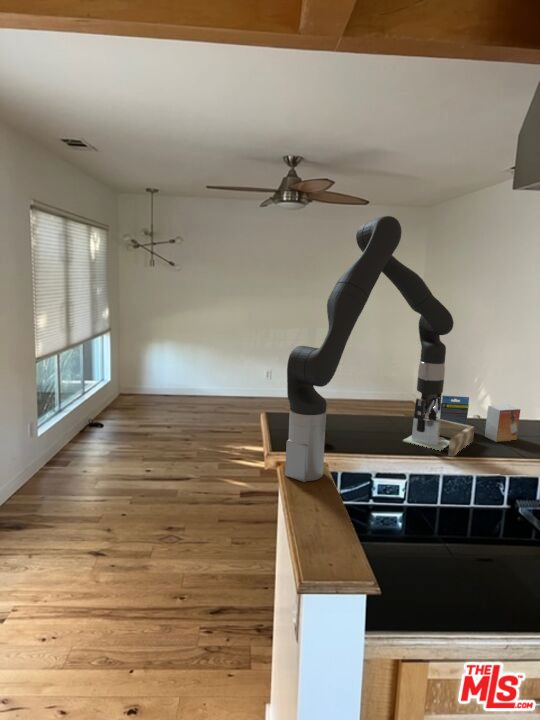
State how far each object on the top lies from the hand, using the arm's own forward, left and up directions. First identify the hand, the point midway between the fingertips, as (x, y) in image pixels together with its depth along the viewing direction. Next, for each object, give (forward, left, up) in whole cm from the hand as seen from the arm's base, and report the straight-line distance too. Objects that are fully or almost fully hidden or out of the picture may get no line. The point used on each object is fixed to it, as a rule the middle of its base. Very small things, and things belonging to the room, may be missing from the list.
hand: (426, 428), depth 155 cm
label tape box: (+19, -1, -5) cm, 20 cm away
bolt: (-19, +29, -6) cm, 35 cm away
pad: (+2, 0, -5) cm, 6 cm away
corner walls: (+4, -1, -5) cm, 7 cm away
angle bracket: (+2, 0, -5) cm, 5 cm away
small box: (+22, -16, -5) cm, 28 cm away
